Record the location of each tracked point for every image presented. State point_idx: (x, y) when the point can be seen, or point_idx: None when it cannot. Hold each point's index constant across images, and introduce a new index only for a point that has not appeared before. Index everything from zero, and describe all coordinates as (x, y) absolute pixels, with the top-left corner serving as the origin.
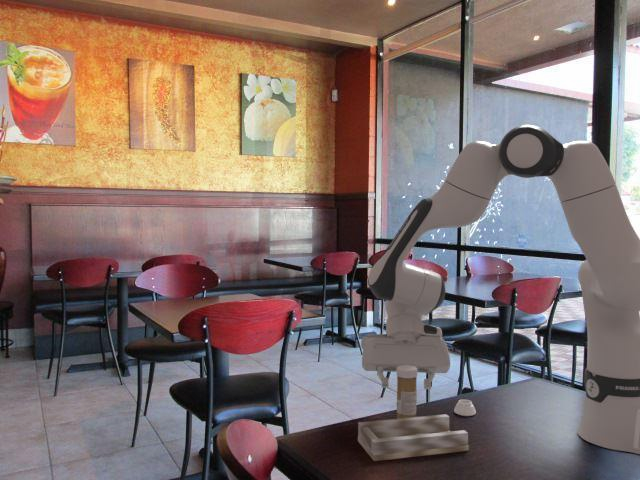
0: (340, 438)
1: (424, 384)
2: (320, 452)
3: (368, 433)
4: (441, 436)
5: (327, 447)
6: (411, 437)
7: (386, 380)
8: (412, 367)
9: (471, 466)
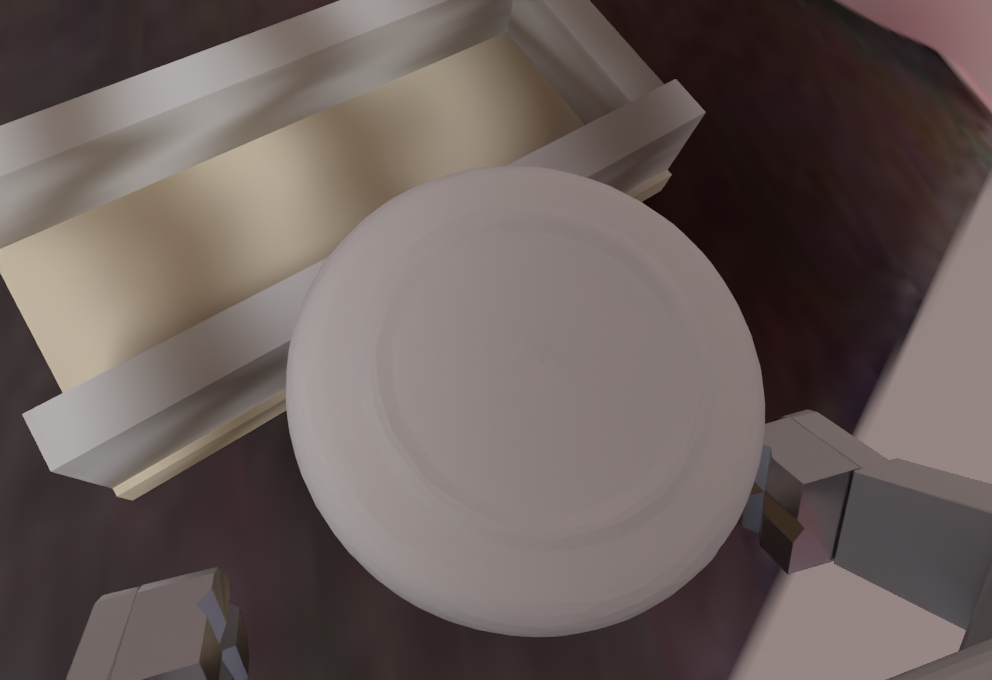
0: (755, 199)
1: (213, 569)
2: (758, 42)
3: (593, 23)
4: (135, 83)
5: (758, 92)
6: (335, 18)
7: (792, 445)
8: (407, 393)
9: (6, 45)
